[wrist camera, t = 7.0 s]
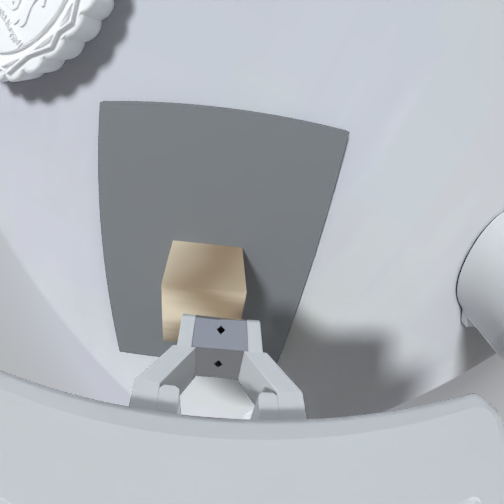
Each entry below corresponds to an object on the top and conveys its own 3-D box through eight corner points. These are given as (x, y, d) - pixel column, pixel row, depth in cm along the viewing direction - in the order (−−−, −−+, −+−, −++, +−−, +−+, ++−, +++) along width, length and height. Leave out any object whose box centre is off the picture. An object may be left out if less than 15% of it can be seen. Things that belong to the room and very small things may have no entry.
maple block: (246, 292, 18) (235, 347, 21) (242, 247, 22) (232, 300, 25) (161, 284, 17) (163, 340, 20) (172, 240, 21) (171, 294, 24)
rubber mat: (345, 130, 19) (349, 132, 18) (275, 360, 31) (276, 364, 30) (103, 101, 16) (100, 102, 16) (121, 347, 28) (119, 351, 28)
